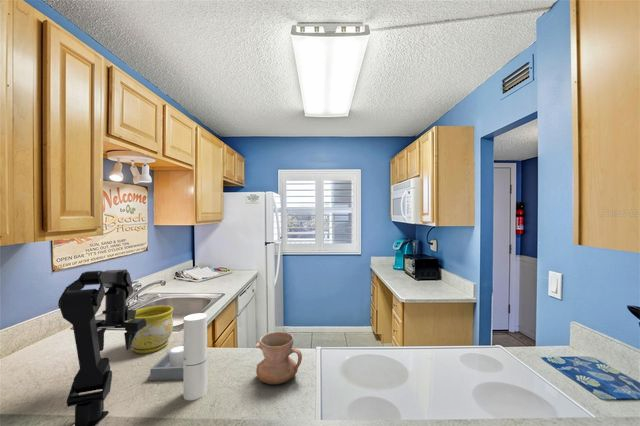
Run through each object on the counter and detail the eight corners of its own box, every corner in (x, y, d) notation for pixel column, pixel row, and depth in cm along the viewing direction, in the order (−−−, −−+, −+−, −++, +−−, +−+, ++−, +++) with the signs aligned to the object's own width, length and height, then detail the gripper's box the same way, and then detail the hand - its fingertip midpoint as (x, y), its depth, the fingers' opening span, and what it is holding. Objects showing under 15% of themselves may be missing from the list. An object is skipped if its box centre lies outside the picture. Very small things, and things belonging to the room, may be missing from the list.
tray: (190, 378, 100) (190, 367, 100) (150, 380, 99) (150, 369, 99) (204, 359, 114) (204, 349, 114) (169, 361, 113) (169, 351, 113)
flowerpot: (178, 347, 126) (178, 310, 127) (131, 361, 113) (132, 320, 114) (166, 335, 139) (166, 303, 139) (123, 347, 126) (123, 311, 127)
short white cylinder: (180, 372, 102) (180, 353, 103) (164, 371, 104) (164, 352, 104) (192, 363, 109) (192, 345, 109) (177, 362, 110) (177, 344, 111)
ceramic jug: (245, 384, 95) (245, 343, 96) (265, 363, 109) (265, 327, 109) (293, 394, 90) (293, 350, 90) (308, 371, 104) (308, 333, 104)
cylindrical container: (200, 384, 96) (200, 312, 97) (211, 392, 91) (211, 316, 92) (179, 394, 90) (179, 317, 91) (189, 403, 86) (189, 322, 87)
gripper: (155, 298, 106) (154, 339, 105) (105, 299, 106) (105, 341, 105) (136, 307, 95) (136, 353, 94) (81, 308, 94) (80, 355, 94)
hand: (114, 350), depth 97 cm, fingers open, 9 cm apart
